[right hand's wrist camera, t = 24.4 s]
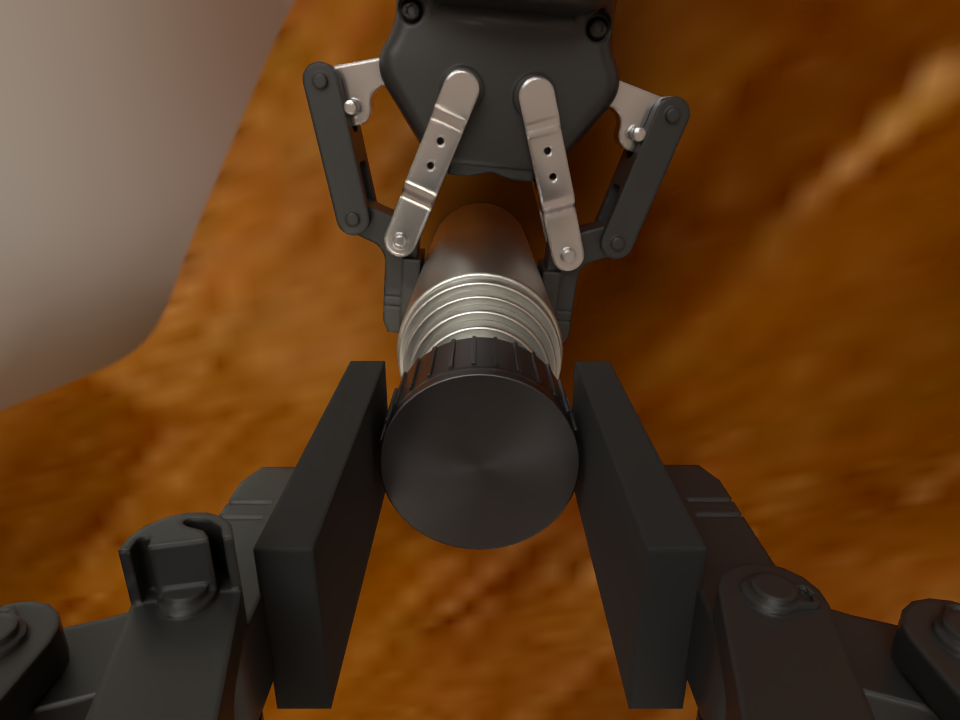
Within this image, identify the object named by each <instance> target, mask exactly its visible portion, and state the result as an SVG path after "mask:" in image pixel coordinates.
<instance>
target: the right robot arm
mask: <svg viewBox="0 0 960 720" xmlns="http://www.w3.org/2000/svg"><path fill="white" fill-rule="evenodd" d="M387 412H388V407H387V389H386V372H385V361H351V362H350V364H349V366H348V367H347V369H346V371H345V373H344V375H343V377H342V379H341V381H340V383H339V385H338V387H337V389H336V391H335V392H334V394H333V396H332V398H331V400H330V402H329V404H328V406H327V408H326V410H325V412H324V414H323V416H322V417H321V419H320V421H319V423H318V425H317V427H316V429H315V431H314V433H313V435H312V437H311V439H310V441H309V442H308V444H307V446H306V448H305V450H304V452H303V454H302V456H301V458H300V460H299V462H298V464H297V466H296V467H262V468H260V469H259V470H257V471H256V472H255V473H253V474H252V475H250V476H249V477H248V478H246V479H245V480H244V481H242V482H241V483H240V484H239V486H238V487H237V489H236V491H235V492H234V494H233V495H232V497H231V498H230V500H229V504H226V506H225V508H224V509H223V511H222V512H221V514H220V515H219V516H218V515H214V514H210V513H184V514H180V515H175V516H170V517H166V518H163V519H161V520H159V521H156V522H154V523H151V524H149V525H147V526H145V527H143V528H142V529H140V530H139V531H137V532H136V533H134V534H133V535H132V536H130V537H129V538H128V539H127V540H126V541H125V543H124V544H123V545H122V546H121V548H120V549H119V550H118V552H119V556H120V560H121V564H122V568H123V572H124V576H125V581H126V585H127V589H128V593H129V597H130V601H131V607H130V610H129V612H128V613H124V614H121V615H117V616H114V617H110V618H106V619H102V620H97V621H93V622H88V623H84V624H79V625H75V626H70V627H66V628H63V626H62V623H61V620H60V616H59V613H58V612H57V611H56V610H55V609H54V608H53V607H51V606H50V605H49V604H44V603H39V602H34V601H29V602H20V603H11V604H7V605H4V606H0V720H264V717H263V711H262V710H263V707H264V704H265V702H266V699H267V696H268V693H269V691H270V688H271V685H272V682H273V683H274V689H275V696H276V702H277V709H331V707H332V703H333V699H334V695H335V691H336V687H337V683H338V679H339V675H340V671H341V667H342V663H343V659H344V655H345V651H346V647H347V643H348V639H349V635H350V631H351V627H352V623H353V619H354V615H355V611H356V607H357V603H358V599H359V595H360V591H361V587H362V583H363V579H364V575H365V571H366V567H367V563H368V559H369V555H370V551H371V547H372V543H373V539H374V535H375V531H376V527H377V523H378V519H379V515H380V511H381V507H382V503H383V499H384V495H385V489H384V486H383V483H382V480H381V475H380V468H379V454H380V448H381V443H380V438H381V434H382V431H383V428H384V424H385V423H384V422H385V419H386V415H387ZM572 413H573V417H574V420H575V423H576V426H577V430H578V433H576V436H577V439H578V443H579V446H580V471H579V478H578V481H577V485H576V488H575V490H574V491H575V495H576V499H577V503H578V507H579V511H580V515H581V519H582V523H583V527H584V531H585V535H586V539H587V543H588V547H589V551H590V555H591V559H592V563H593V567H594V571H595V575H596V579H597V583H598V587H599V591H600V595H601V599H602V603H603V607H604V611H605V615H606V619H607V623H608V627H609V631H610V635H611V639H612V643H613V647H614V651H615V655H616V659H617V663H618V667H619V671H620V675H621V679H622V683H623V687H624V691H625V695H626V699H627V703H628V707H629V709H683V702H684V696H685V689H686V683H687V679H688V682H689V685H690V687H691V690H692V693H693V696H694V698H695V701H696V704H697V707H698V711H697V717H696V720H960V603H956V602H953V601H948V600H939V599H929V598H928V599H923V600H918V601H912V602H911V603H910V604H909V605H907V606H906V607H905V608H904V609H903V610H902V613H901V616H900V620H899V623H898V625H893V624H889V623H884V622H880V621H875V620H871V619H866V618H862V617H857V616H853V615H849V614H845V613H842V612H839V611H835V610H832V609H830V606H829V604H828V602H827V601H826V599H825V598H824V597H823V595H822V594H821V592H820V591H819V590H818V589H817V588H816V587H815V586H813V585H812V584H811V583H809V582H808V581H807V580H806V579H804V578H803V577H801V576H799V575H797V574H795V573H793V572H790V571H788V570H786V569H784V568H781V567H776V566H775V565H774V563H773V562H772V560H771V559H770V557H769V555H768V554H767V552H766V551H765V549H764V548H763V546H762V545H761V543H760V542H759V540H758V539H757V537H756V536H755V534H754V532H753V531H752V529H751V528H750V526H749V525H748V523H747V522H746V520H745V519H744V517H741V513H740V511H739V509H738V508H737V506H736V505H735V503H734V502H731V497H730V496H729V494H728V493H727V491H726V489H725V488H724V486H723V485H722V483H721V482H720V480H718V479H717V478H715V477H714V476H713V475H711V474H710V473H708V472H707V471H706V470H704V469H703V468H701V467H700V466H699V465H663V464H662V462H661V460H660V458H659V456H658V454H657V452H656V450H655V448H654V446H653V444H652V442H651V441H650V439H649V437H648V435H647V433H646V431H645V429H644V427H643V425H642V423H641V421H640V419H639V417H638V416H637V414H636V412H635V410H634V408H633V406H632V404H631V402H630V400H629V398H628V396H627V394H626V392H625V391H624V389H623V387H622V385H621V383H620V381H619V379H618V377H617V375H616V373H615V371H614V369H613V367H612V366H611V364H610V362H609V361H575V372H574V389H573V407H572Z"/></svg>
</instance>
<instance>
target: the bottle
mask: <svg viewBox="0 0 960 720" xmlns="http://www.w3.org/2000/svg"><path fill="white" fill-rule="evenodd" d="M472 336H476V337H485V338H493V337H497V339H500V340H505V341H508V342H511V343H514V342H517V343H518V346H521V347H523V348H525V349H527V350H528V351H530V352H532V351H534V352H535V353H536V356H537V357H538V358H539V359H540V360H542V361H543V362H544V363H545V364H546V365H547V364H549V365H550V367H551V370H552V372H553V374H554V375H555V377H556V378H557V380H558V379H559V376H560V371H561V364H562V359H563V341H562V335H561V331H560V328H559V325H558V322H557V319H556V317H555V314H554V311H553V308H552V306H551V303H550V300H549V298H548V295H547V292H546V290H545V287H544V284H543V281H542V279H541V276H540V273H539V271H538V268H537V265H536V262H535V260H534V257H533V254H532V252H531V249H530V246H529V243H528V241H527V238H526V235H525V233H524V230H523V228H522V226H521V225H520V223H519V222H518V221H517V219H516V218H515V217H514V216H513V215H511V214H510V213H509V212H508V211H506V210H505V209H503V208H501V207H499V206H496V205H493V204H488V203H471V204H467V205H464V206H461V207H459V208H457V209H455V210H454V211H452V212H451V213H450V214H448V215H447V216H446V217H445V218H444V219H443V221H442V222H441V223H440V225H439V227H438V228H437V230H436V233H435V235H434V238H433V240H432V243H431V246H430V249H429V251H428V254H427V257H426V259H425V262H424V265H423V267H422V270H421V273H420V275H419V278H418V281H417V283H416V286H415V289H414V291H413V294H412V297H411V300H410V302H409V305H408V308H407V310H406V313H405V316H404V318H403V321H402V324H401V326H400V330H399V334H398V340H397V360H398V367H399V373H400V377H401V379H402V375H403V373H404V372H408V370H409V369H410V368H411V367H412V366H413V365H414V364H415V361H416V359H417V358H418V357H419V358H421V357H423V356H424V355H425V354H427V353H428V352H430V351H431V350H432V347H434V346H436V347H439V346H441V345H443V344H446V343H449V342H451V340H452V339H456V340H459V339H465V338H472Z"/></svg>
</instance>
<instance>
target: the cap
mask: <svg viewBox="0 0 960 720" xmlns="http://www.w3.org/2000/svg"><path fill="white" fill-rule="evenodd" d="M384 423H385V424H384V428H383V431H382V434H381V438H380V443H381V448H380V454H379V468H380V475H381V480H382V483H383V486H384V489H385V492H386V494H387V496H388V498H389V500H390V502H391V503H392V505H393V506H394V508H395V509H396V511H397V512H398V513H399V514H400V515H401V517H402V518H403V519H404V520H405V521H406V522H408V523H409V524H410V525H411V526H412V527H413V528H415V529H416V530H418V531H419V532H420V533H422V534H424V535H426V536H427V537H429V538H431V539H433V540H436V541H438V542H441V543H443V544H447V545H450V546H454V547H459V548H465V549H479V550H481V549H495V548H501V547H506V546H509V545H513V544H516V543H519V542H521V541H524V540H526V539H528V538H530V537H532V536H534V535H536V534H537V533H539V532H540V531H542V530H543V529H545V528H546V527H547V526H549V525H550V524H551V523H552V522H553V521H554V520H555V519H556V518H557V517H558V516H559V515H560V514H561V512H562V511H563V510H564V509H565V507H566V505H567V504H568V502H569V501H570V499H571V497H572V495H573V493H574V490H575V488H576V485H577V481H578V478H579V471H580V446H579V443H578V439H577V436H576V433H578V430H577V426H576V423H575V420H574V417H573V413H572V410H571V407H570V404H569V400H568V397H566V395H565V392H564V389H563V385H562V382H561V380H560V379H559V380H557V378H556V377H555V375H554V374H553V372H552V370H551V367H550V365H549V364H547V365H546V364H545V363H544V362H543V361H542V360H540V359H539V358H538V357H537V356H536V353H535V352H534V351H532V352H530V351H528V350H527V349H525V348H523V347H521V346H518V343H517V342H514V343H511V342H508V341H505V340H500V339H497V337H493V338H485V337H476V336H472V338H465V339H459V340H456V339H452V340H451V342H449V343H446V344H443V345H441V346H439V347H436V346H434V347H432V350H431V351H430V352H428V353H427V354H425V355H424V356H423V357H421V358H419V357H418V358H417V359H416V361H415V364H414V365H413V366H412V367H411V368H410V369H409V370H408V372H404V373H403V375H402V379H401V382H400V385H399V387H398V389H397V388H395V390H394V393H393V396H392V399H391V403H390V406H389V409H388V412H387V415H386V419H385V422H384Z"/></svg>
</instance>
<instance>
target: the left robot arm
mask: <svg viewBox="0 0 960 720" xmlns="http://www.w3.org/2000/svg"><path fill="white" fill-rule="evenodd" d="M615 6H616V0H396V15H395V21H394V24H393V28H392V31H391V33H390V35H389V37H388V39H387V41H386V42H385V44H384V46H383V48H382V50H381V53H380V58H374V59H369V60H363V61H358V62H353V63H347V64H342V65H336V66H333V65H330V64H327V63H324V62H314V63H312V64H310V65H309V66H308V67H307V68H306V69H305V71H304V74H303V85H304V89H305V93H306V97H307V101H308V105H309V109H310V113H311V117H312V122H313V126H314V130H315V134H316V138H317V142H318V146H319V150H320V154H321V158H322V162H323V167H324V171H325V175H326V179H327V183H328V187H329V191H330V195H331V199H332V203H333V207H334V212H335V216H336V220H337V223H338V226H339V227H340V229H341V230H342V231H343V232H345V233H346V234H349V235H358V236H361V237H363V238H365V239H367V240H369V241H372V242H374V243H375V244H377V245H378V246H379V247H380V248H381V250H382V251H383V253H384V256H385V284H384V312H383V320H384V323H385V326H386V328H387V331H388V332H398V333H399V330H400V326H401V324H402V321H403V318H404V316H405V313H406V310H407V308H408V305H409V302H410V300H411V297H412V294H413V291H414V289H415V286H416V283H417V281H418V278H419V275H420V273H421V270H422V267H423V265H424V259H425V249H420V238H421V234H422V232H423V229H424V227H425V225H426V222H427V220H428V217H429V215H430V213H431V210H432V208H433V205H434V203H435V201H436V198H437V196H438V194H439V191H440V189H441V187H442V184H443V182H444V179H445V177H446V175H447V172H448V174H452V175H463V176H472V175H478V174H483V173H489V172H492V173H495V174H498V175H500V176H503V177H506V178H508V179H511V180H518V181H529V182H532V186H533V191H534V195H535V199H536V203H537V207H538V211H539V215H540V220H541V224H542V229H543V233H544V238H545V243H546V248H545V257H544V260H541V259H539V261H538V271H539V273H540V276H541V279H542V281H543V284H544V287H545V290H546V292H547V295H548V298H549V300H550V303H551V306H552V308H553V311H554V314H555V317H556V319H557V322H558V325H559V328H560V331H561V335H562V341H563V344H564V343H565V341H566V339H567V338H568V336H569V331H570V324H571V317H572V310H573V303H574V296H575V289H576V282H577V276H578V274H579V272H580V270H581V269H582V268H583V267H584V266H585V265H586V264H588V263H590V262H593V261H596V260H600V259H604V258H608V257H610V258H613V259H620V258H623V257H625V256H626V255H628V254H629V253H630V251H631V250H632V248H633V245H634V243H635V241H636V238H637V236H638V234H639V232H640V229H641V227H642V225H643V223H644V220H645V218H646V216H647V213H648V211H649V209H650V207H651V204H652V202H653V200H654V197H655V195H656V193H657V191H658V188H659V186H660V184H661V182H662V179H663V177H664V175H665V172H666V170H667V168H668V166H669V163H670V161H671V159H672V157H673V154H674V152H675V150H676V147H677V145H678V143H679V141H680V138H681V136H682V134H683V131H684V129H685V127H686V125H687V122H688V120H689V116H690V110H689V106H688V104H687V103H686V101H685V100H683V99H682V98H680V97H672V96H663V97H660V96H658V95H655V94H653V93H650V92H648V91H645V90H643V89H640V88H637V87H635V86H632V85H630V84H627V83H625V82H622V81H620V78H619V71H618V67H617V65H616V62H615V59H614V55H613V51H612V27H613V20H614V13H615ZM384 87H386V88H387V90H388V91H389V93H390V95H391V96H392V98H393V100H394V101H395V103H396V105H397V106H398V108H399V110H400V111H401V113H402V115H403V116H404V118H405V120H406V121H407V123H408V125H409V126H410V128H411V130H412V131H413V133H414V135H415V136H416V138H417V140H418V141H419V143H420V146H419V148H418V151H417V154H416V156H415V159H414V161H413V164H412V166H411V169H410V171H409V174H408V176H407V179H406V181H405V184H404V187H403V190H402V194H401V196H400V199H399V201H398V204H397V206H396V209H395V210H393V209H391V208H388V207H386V206H384V205H382V204H380V203H378V202H377V199H376V195H375V190H374V186H373V181H372V177H371V172H370V168H369V163H368V158H367V154H366V149H365V145H364V140H363V136H362V131H361V127H360V125H364V124H366V123H368V122H369V121H370V120H371V119H372V117H373V115H374V99H375V96H376V94H377V93H378V91H379V90H380V89H382V88H384ZM608 108H609V109H610V110H611V111H612V112H613V114H614V116H615V119H616V126H615V130H614V139H615V141H616V143H617V145H618V146H619V147H621V148H622V149H624V151H623V154H622V156H621V159H620V161H619V163H618V166H617V168H616V171H615V173H614V176H613V178H612V180H611V183H610V185H609V188H608V190H607V193H606V195H605V197H604V200H603V202H602V205H601V207H600V209H599V212H598V214H597V217H596V219H595V222H591V223H588V224H584V225H580V226H579V225H578V220H577V215H576V209H575V197H574V192H573V187H572V182H571V177H570V172H569V167H568V162H567V157H566V156H567V155H568V153H569V152H570V151H571V150H572V149H573V148H574V147H575V145H576V144H577V143H578V142H579V141H580V140H581V139H582V137H583V136H584V135H585V134H586V133H587V132H588V131H589V129H590V128H591V127H592V126H593V125H594V124H595V123H596V121H597V120H598V119H599V118H600V117H601V116H602V115H603V113H604V112H605V111H606V110H607V109H608Z"/></svg>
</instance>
